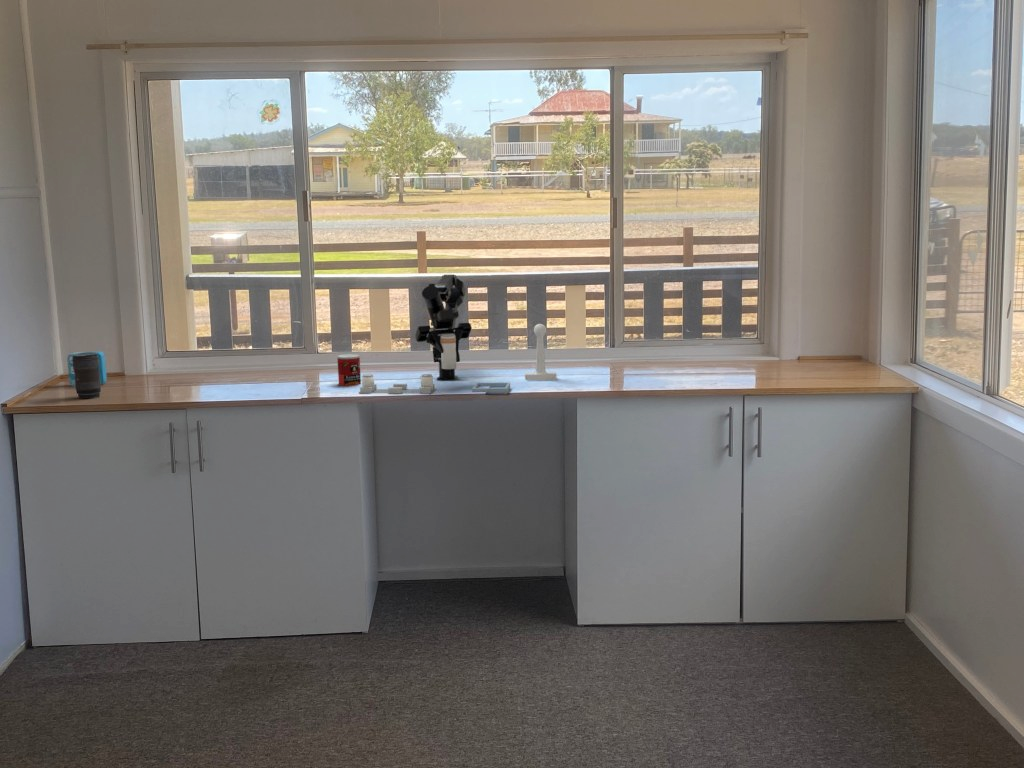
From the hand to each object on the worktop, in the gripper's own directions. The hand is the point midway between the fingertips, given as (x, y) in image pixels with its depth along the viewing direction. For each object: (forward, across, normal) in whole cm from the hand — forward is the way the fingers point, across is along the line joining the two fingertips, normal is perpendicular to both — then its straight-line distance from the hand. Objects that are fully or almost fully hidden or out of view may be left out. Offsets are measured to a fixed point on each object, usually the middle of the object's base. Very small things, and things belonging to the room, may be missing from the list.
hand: (450, 351), depth 341 cm
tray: (+15, +11, +4) cm, 19 cm away
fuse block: (+8, -18, +11) cm, 23 cm away
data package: (-45, -113, +65) cm, 138 cm away
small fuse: (+10, -9, +7) cm, 16 cm away
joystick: (+5, +36, +15) cm, 39 cm away
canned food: (-8, -28, +28) cm, 41 cm away
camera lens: (-25, -113, +45) cm, 124 cm away
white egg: (+3, -27, +14) cm, 30 cm away
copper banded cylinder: (+3, 0, +5) cm, 6 cm away
